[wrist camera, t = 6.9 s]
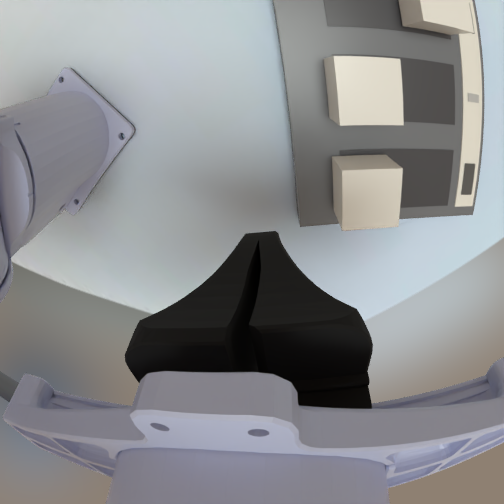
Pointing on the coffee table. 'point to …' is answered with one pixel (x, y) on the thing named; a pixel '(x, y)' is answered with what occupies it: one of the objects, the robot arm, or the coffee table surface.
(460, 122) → the switch bank
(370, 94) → the tab
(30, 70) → the coffee table surface
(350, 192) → the tab
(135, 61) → the coffee table surface
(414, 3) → the tab
